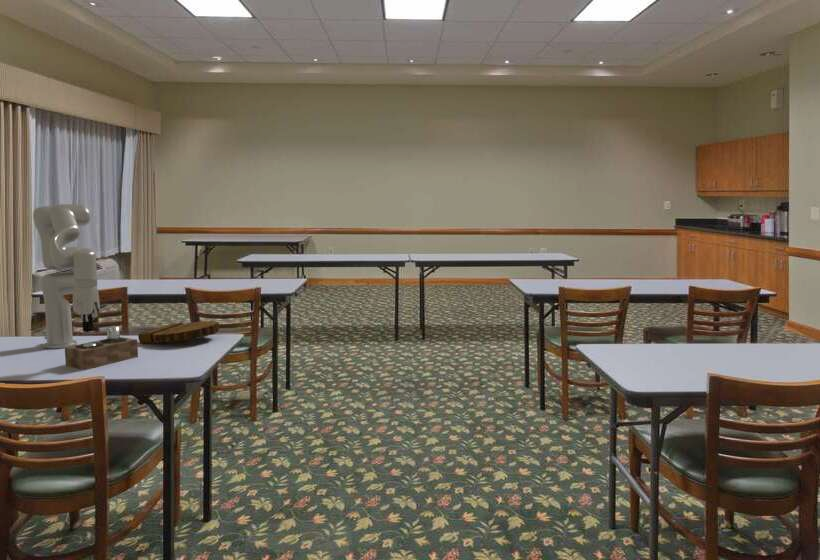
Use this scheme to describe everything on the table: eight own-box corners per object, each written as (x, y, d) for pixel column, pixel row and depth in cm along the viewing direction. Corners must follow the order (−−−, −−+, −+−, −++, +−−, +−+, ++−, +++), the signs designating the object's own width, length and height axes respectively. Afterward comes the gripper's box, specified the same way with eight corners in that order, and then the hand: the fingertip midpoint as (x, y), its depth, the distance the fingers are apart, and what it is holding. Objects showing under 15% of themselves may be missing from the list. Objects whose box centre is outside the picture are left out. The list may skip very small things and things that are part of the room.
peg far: (105, 346, 230) (104, 327, 229) (115, 344, 234) (114, 325, 233) (112, 347, 228) (111, 328, 227) (122, 345, 232) (121, 326, 231)
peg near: (81, 364, 222) (80, 344, 221) (92, 361, 226) (91, 342, 225) (89, 365, 220) (87, 346, 219) (99, 363, 224) (98, 343, 223)
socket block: (65, 365, 220) (64, 346, 219) (118, 353, 240) (117, 335, 239) (85, 369, 215) (84, 349, 214) (138, 356, 234) (137, 338, 233)
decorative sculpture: (135, 350, 254) (197, 345, 247) (133, 335, 253) (195, 330, 247) (176, 335, 283) (232, 331, 276) (173, 322, 282) (230, 317, 276)
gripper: (63, 282, 219) (66, 330, 222) (89, 286, 212) (91, 335, 215) (82, 280, 226) (85, 326, 228) (108, 284, 219) (110, 331, 222)
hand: (88, 331), depth 222 cm, fingers closed
